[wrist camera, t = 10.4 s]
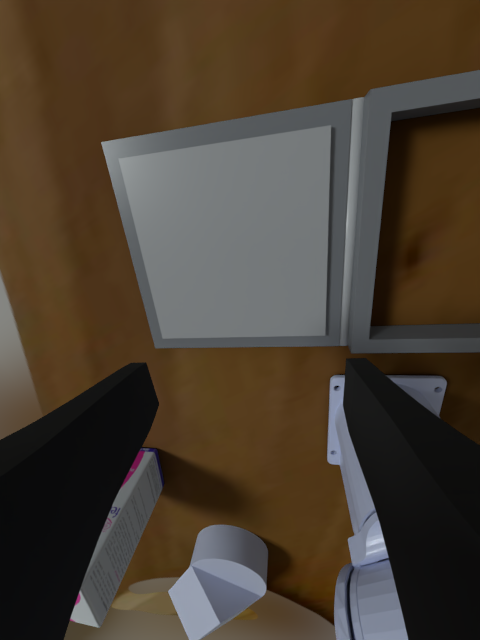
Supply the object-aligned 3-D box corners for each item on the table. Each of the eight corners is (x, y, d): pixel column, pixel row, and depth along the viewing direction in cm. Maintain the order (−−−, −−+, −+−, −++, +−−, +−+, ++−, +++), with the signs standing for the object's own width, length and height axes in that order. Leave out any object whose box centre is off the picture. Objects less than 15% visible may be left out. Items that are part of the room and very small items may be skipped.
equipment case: (588, 335, 17) (624, 351, 15) (160, 342, 22) (149, 354, 20) (725, 41, 11) (809, 11, 10) (111, 145, 17) (90, 138, 15)
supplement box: (157, 446, 28) (81, 592, 17) (165, 483, 30) (103, 631, 20) (106, 440, 29) (5, 576, 18) (118, 477, 31) (35, 615, 21)
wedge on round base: (235, 585, 37) (281, 545, 32) (226, 660, 31) (280, 627, 26) (177, 559, 37) (213, 514, 31) (156, 630, 31) (195, 590, 25)
